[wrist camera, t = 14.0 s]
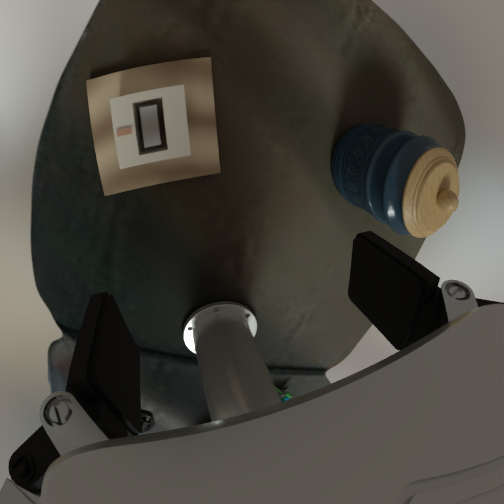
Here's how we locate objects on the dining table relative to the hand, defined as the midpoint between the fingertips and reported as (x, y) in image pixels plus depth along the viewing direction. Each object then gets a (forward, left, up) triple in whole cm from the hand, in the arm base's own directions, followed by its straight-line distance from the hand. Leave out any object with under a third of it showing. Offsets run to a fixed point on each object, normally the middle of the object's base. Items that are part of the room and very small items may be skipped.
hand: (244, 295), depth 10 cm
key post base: (+5, +3, -25) cm, 26 cm away
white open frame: (+5, +3, -24) cm, 25 cm away
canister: (-3, -26, -26) cm, 36 cm away
